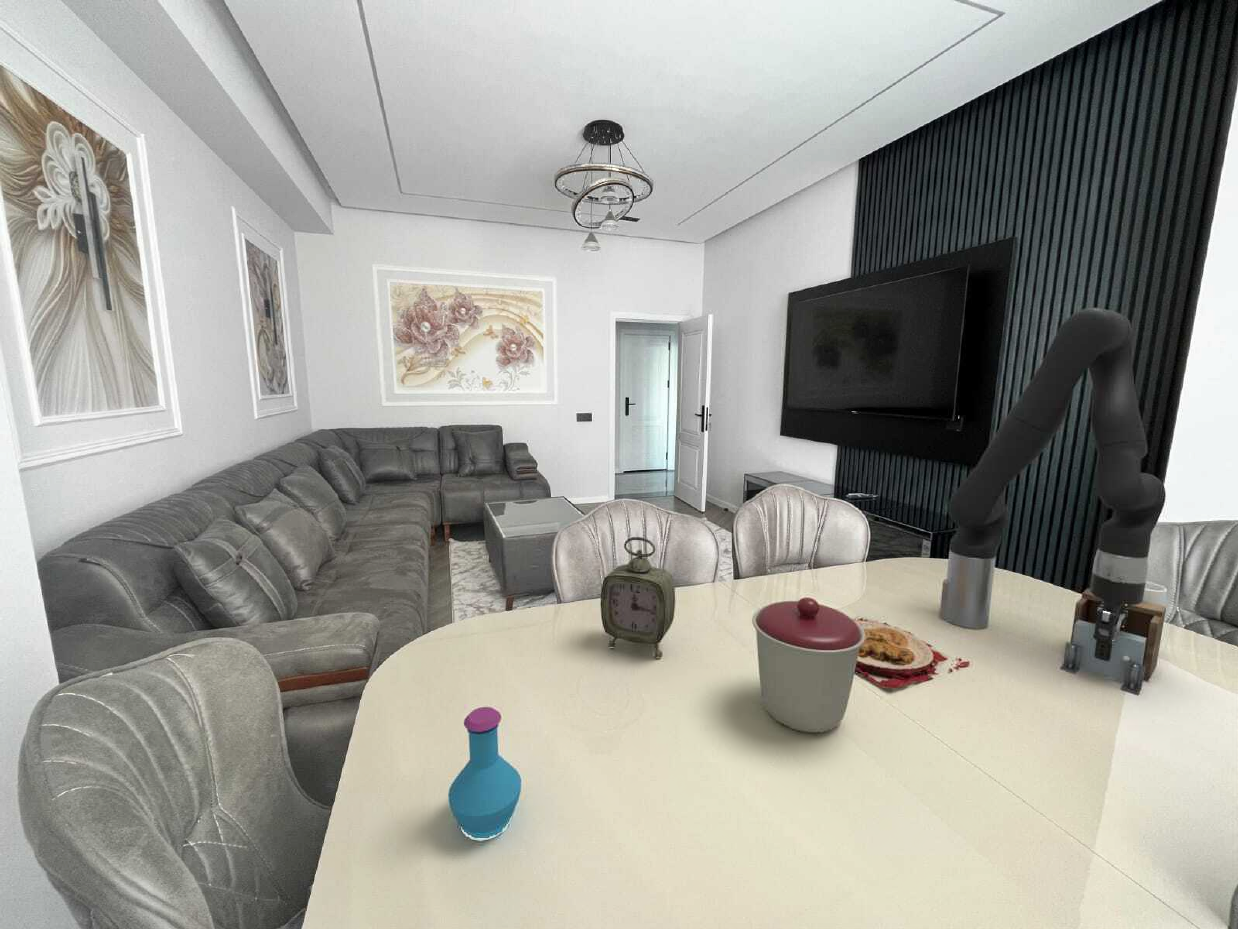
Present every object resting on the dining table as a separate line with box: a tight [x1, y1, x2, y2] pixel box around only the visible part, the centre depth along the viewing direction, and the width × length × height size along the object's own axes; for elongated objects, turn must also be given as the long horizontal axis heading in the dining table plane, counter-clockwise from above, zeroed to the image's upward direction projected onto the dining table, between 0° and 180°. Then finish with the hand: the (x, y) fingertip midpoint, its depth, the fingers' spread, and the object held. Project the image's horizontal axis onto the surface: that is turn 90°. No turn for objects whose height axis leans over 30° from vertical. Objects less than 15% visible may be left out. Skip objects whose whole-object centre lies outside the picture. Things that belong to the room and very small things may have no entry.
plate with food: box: [852, 617, 970, 690], centre depth 113 cm, size 25×26×4 cm
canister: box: [751, 597, 866, 733], centre depth 89 cm, size 18×18×21 cm
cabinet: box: [1070, 588, 1167, 682], centre depth 107 cm, size 12×9×13 cm
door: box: [1072, 620, 1147, 683], centre depth 103 cm, size 10×4×9 cm, turn 38°
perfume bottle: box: [448, 706, 522, 838], centre depth 67 cm, size 9×9×15 cm
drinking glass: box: [1143, 581, 1168, 607], centre depth 111 cm, size 7×7×15 cm
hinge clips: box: [1059, 641, 1145, 696], centre depth 101 cm, size 11×3×5 cm, turn 37°
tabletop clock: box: [600, 536, 676, 658], centre depth 111 cm, size 14×9×25 cm, turn 68°
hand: (1106, 652), depth 103 cm, fingers open, 8 cm apart
